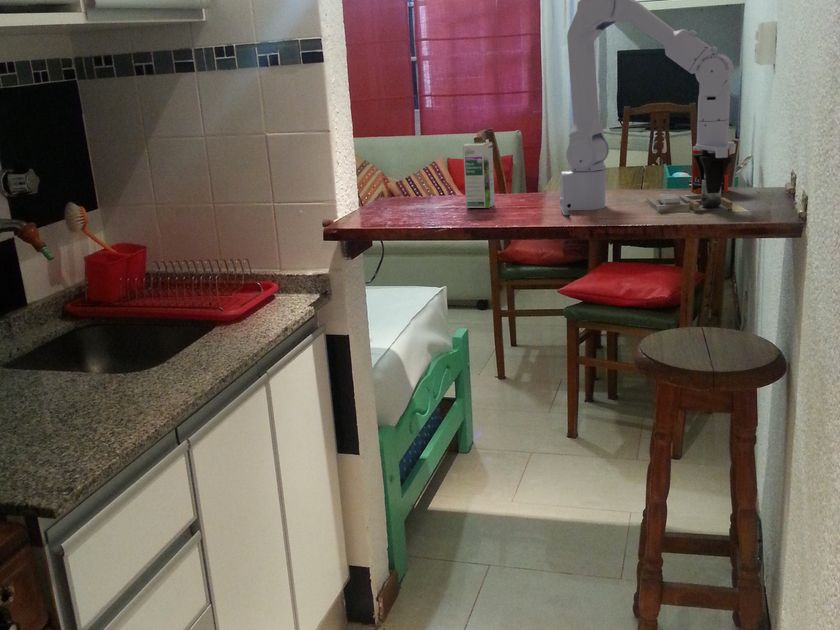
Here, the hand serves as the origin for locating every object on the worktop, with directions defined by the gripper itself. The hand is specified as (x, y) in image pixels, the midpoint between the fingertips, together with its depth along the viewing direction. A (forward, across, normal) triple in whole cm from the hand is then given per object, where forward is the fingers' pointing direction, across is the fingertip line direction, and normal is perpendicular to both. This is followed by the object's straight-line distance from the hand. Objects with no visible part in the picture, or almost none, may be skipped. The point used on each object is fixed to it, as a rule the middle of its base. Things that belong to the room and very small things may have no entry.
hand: (710, 191), depth 160 cm
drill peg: (+3, 0, 0) cm, 3 cm away
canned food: (+5, +22, -6) cm, 24 cm away
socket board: (+5, +6, +2) cm, 8 cm away
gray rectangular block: (+4, +4, +7) cm, 9 cm away
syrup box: (+5, +24, +46) cm, 51 cm away
